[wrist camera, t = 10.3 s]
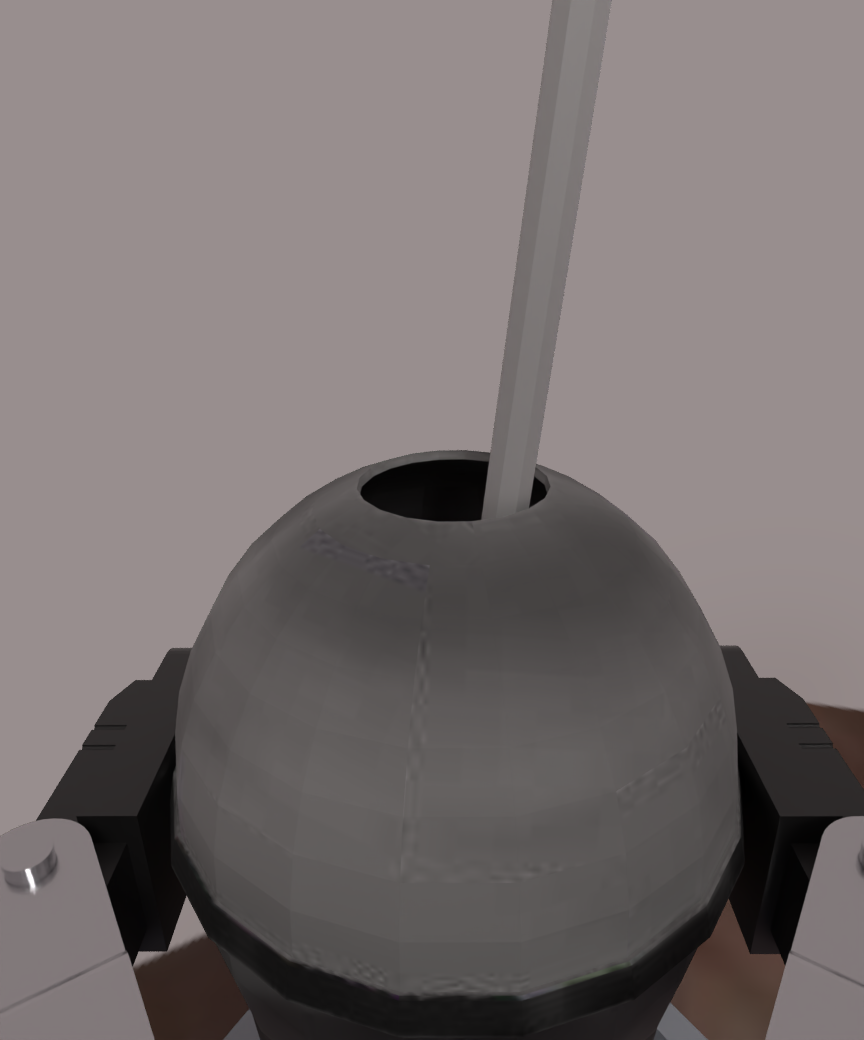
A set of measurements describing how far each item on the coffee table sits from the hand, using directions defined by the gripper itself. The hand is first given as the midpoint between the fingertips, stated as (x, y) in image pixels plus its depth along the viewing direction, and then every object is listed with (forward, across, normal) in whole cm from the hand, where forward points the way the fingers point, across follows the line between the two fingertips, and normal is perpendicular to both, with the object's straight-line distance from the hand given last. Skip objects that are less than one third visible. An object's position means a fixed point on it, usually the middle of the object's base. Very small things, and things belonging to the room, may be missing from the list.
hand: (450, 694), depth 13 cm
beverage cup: (-2, 0, +11) cm, 11 cm away
